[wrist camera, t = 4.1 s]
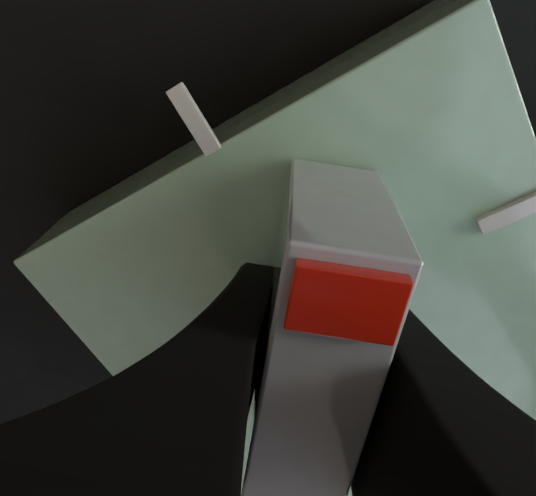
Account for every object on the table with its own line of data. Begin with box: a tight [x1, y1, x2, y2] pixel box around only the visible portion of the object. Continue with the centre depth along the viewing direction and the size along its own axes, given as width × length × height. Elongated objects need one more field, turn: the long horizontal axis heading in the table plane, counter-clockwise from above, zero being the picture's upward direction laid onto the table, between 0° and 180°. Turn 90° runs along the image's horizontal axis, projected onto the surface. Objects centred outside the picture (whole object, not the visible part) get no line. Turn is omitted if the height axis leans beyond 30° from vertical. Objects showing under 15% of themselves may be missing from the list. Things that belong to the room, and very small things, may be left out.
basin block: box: [14, 0, 536, 496], centre depth 13 cm, size 14×11×3 cm
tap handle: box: [241, 159, 424, 496], centre depth 9 cm, size 6×2×4 cm, turn 172°
